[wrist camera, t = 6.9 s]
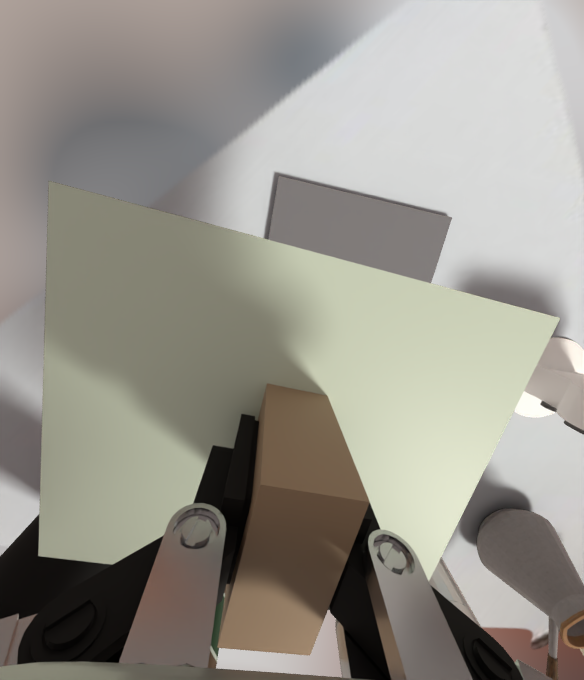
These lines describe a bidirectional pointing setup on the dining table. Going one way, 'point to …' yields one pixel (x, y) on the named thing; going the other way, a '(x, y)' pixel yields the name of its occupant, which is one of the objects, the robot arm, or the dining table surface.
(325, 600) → the lid
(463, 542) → the dining table surface
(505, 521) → the coffee pot
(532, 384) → the panda figurine
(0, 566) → the coffee jar
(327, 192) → the mat
